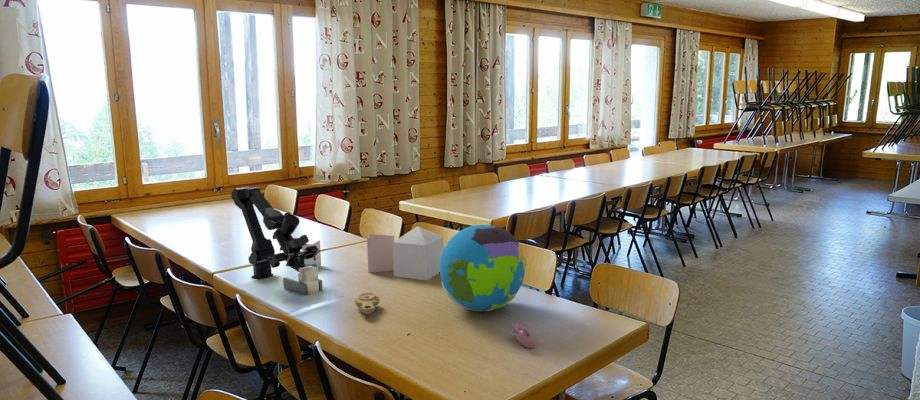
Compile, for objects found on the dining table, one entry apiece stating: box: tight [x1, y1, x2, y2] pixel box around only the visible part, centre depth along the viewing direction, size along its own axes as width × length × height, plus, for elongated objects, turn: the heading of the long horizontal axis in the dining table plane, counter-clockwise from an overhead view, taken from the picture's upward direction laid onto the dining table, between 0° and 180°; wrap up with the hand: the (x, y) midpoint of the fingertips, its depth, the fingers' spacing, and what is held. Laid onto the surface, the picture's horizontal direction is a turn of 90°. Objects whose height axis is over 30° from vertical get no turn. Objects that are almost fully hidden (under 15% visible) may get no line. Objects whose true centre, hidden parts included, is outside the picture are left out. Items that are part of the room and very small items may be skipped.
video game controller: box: [511, 322, 536, 349], centre depth 187 cm, size 10×5×7 cm, turn 6°
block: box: [298, 266, 320, 295], centre depth 231 cm, size 5×5×9 cm
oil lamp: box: [354, 292, 381, 315], centre depth 214 cm, size 11×14×5 cm
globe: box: [439, 224, 527, 312], centre depth 212 cm, size 30×30×30 cm
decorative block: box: [393, 226, 444, 281], centre depth 256 cm, size 16×16×20 cm
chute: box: [282, 273, 323, 296], centre depth 235 cm, size 14×8×5 cm, turn 49°
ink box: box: [302, 238, 322, 269], centre depth 265 cm, size 8×5×12 cm, turn 168°
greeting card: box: [366, 233, 395, 273], centre depth 260 cm, size 11×7×15 cm, turn 71°
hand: (304, 274), depth 233 cm, fingers closed, pressing on block
